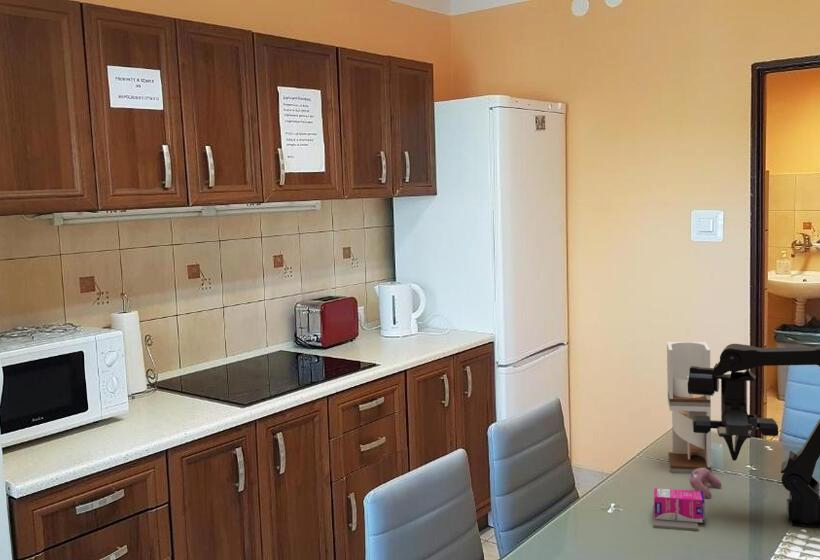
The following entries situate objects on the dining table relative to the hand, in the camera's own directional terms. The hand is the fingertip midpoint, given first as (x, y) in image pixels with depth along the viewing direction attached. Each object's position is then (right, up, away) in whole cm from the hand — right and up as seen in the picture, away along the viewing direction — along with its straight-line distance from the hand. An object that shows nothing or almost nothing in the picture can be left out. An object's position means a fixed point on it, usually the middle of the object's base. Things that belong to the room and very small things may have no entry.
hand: (734, 460), depth 186 cm
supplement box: (-8, -10, -4) cm, 14 cm away
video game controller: (-1, -12, +15) cm, 19 cm away
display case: (+1, -10, +33) cm, 35 cm away
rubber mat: (-15, -14, -1) cm, 20 cm away
